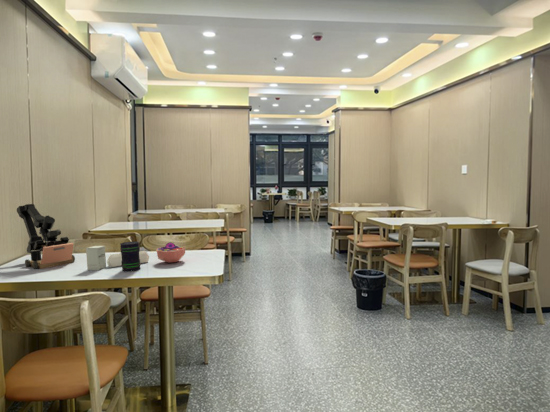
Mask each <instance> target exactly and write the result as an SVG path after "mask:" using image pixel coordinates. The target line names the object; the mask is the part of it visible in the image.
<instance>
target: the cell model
mask: <svg viewBox="0 0 550 412" xmlns="http://www.w3.org/2000/svg"><path fill="white" fill-rule="evenodd" d="M155 251H156V257H157V259H158V260H160V261H162V262H166V263H168V264H169V263H177V262H179V261H180V260H182V258H183V257H184V256H185V254H186V247H185V246H182V245H176V244H175V243H174V242H168V243H165V245H164V246H161V247H157V248H156V249H155Z"/></svg>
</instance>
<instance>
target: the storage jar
mask: <svg viewBox="0 0 550 412" xmlns="http://www.w3.org/2000/svg"><path fill="white" fill-rule="evenodd" d="M119 245H120V253H121V255H122V261H121V263H122V266H121V271H122V272H124V273H125V272H126V273H127V272H130V273H131V272H136V271H140V270H141V269H142V268H141V263H140V259H139V252H140V251H141V250H140V242H139V241H124V242H121V243H120V244H119Z"/></svg>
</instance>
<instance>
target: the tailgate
mask: <svg viewBox="0 0 550 412" xmlns="http://www.w3.org/2000/svg"><path fill="white" fill-rule="evenodd" d="M74 245H75V243H74V242H68V243H67V244H61V245H54V246H48V247H46V246H44V247H43V251H41V259H42V260H41V264H48V263H53V262H59V261H64V260H70V259H71V258H72V255H73V252H74Z"/></svg>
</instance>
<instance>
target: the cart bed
mask: <svg viewBox="0 0 550 412" xmlns="http://www.w3.org/2000/svg"><path fill="white" fill-rule="evenodd" d="M75 260H76V257H75V255H74V254H72V258H71V259H70V260H64V261H59V262H53V263H48V264H41V260H40V261H31V259H25V260H24V265H25V267H26V268H29V267H31V268H33V269H35V270H37V269H39V270H40V269H42V270H43V269H47V268H52V267H57V266H58V265H59V266H63V264H64V265H68V264H69V265H70V264H74V262H75Z"/></svg>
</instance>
